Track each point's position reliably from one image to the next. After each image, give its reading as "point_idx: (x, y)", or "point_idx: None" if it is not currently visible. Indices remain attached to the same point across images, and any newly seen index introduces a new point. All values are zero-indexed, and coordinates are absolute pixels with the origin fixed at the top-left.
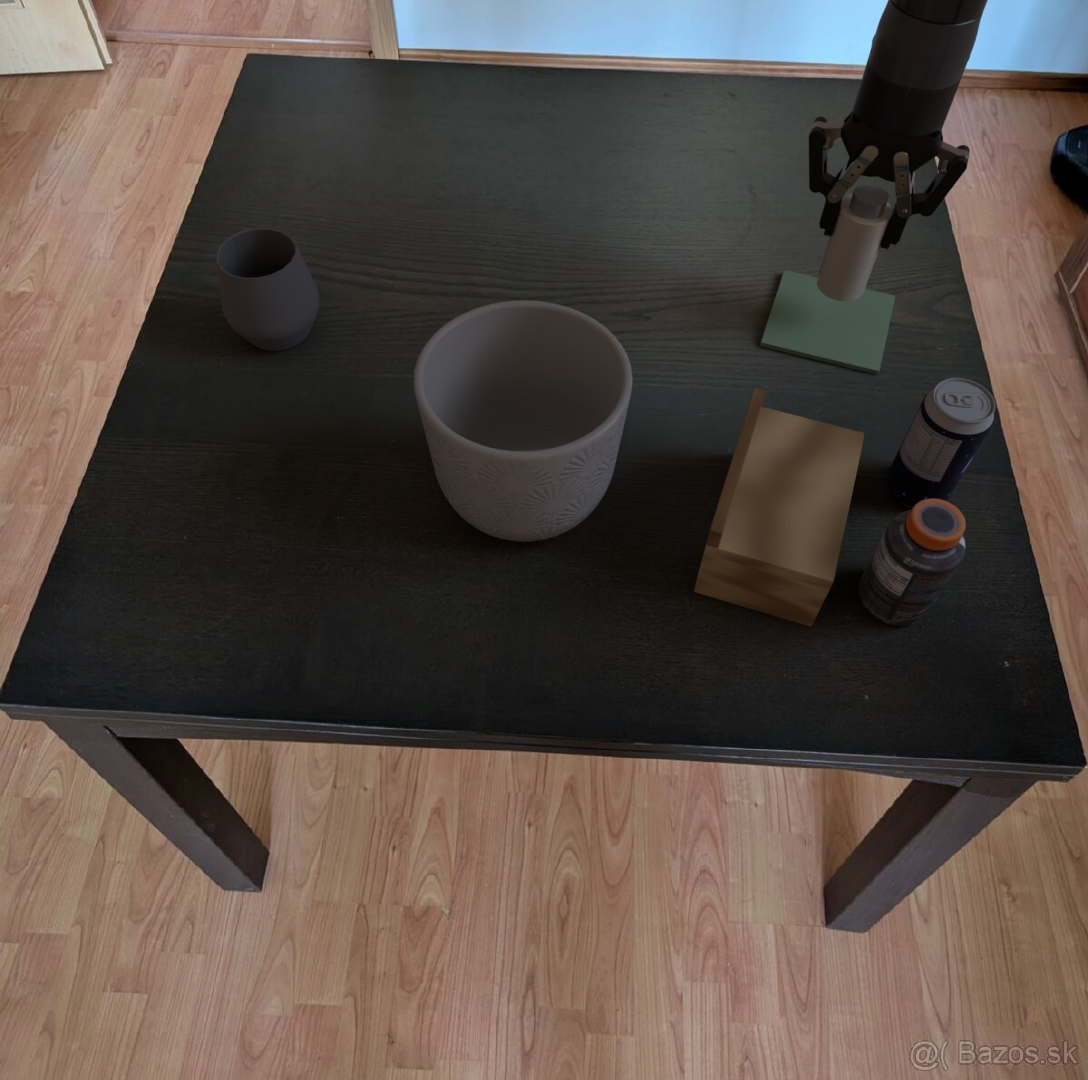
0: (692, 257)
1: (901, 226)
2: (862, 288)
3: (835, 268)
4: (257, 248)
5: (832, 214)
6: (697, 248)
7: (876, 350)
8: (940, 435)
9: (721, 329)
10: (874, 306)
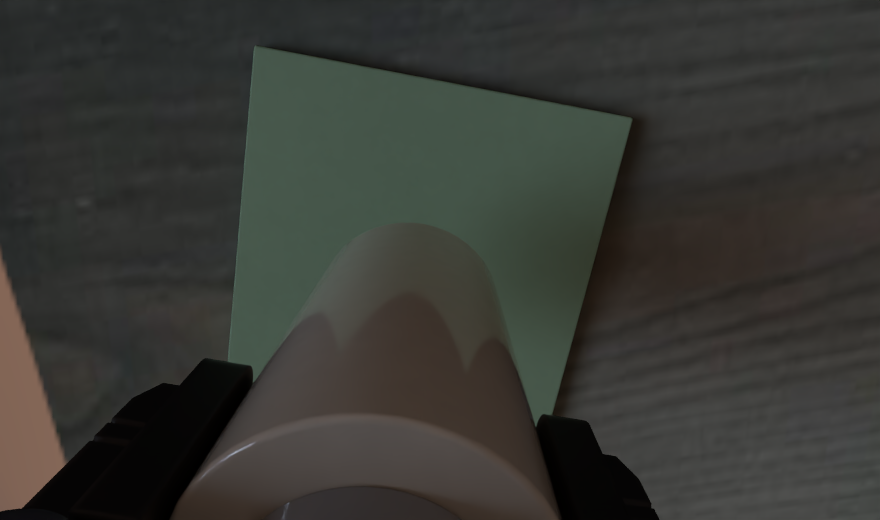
0: (795, 458)
1: (90, 469)
2: (330, 264)
3: (469, 283)
4: None
5: (615, 518)
6: (776, 493)
7: (267, 143)
8: None
9: (740, 175)
10: (282, 334)
